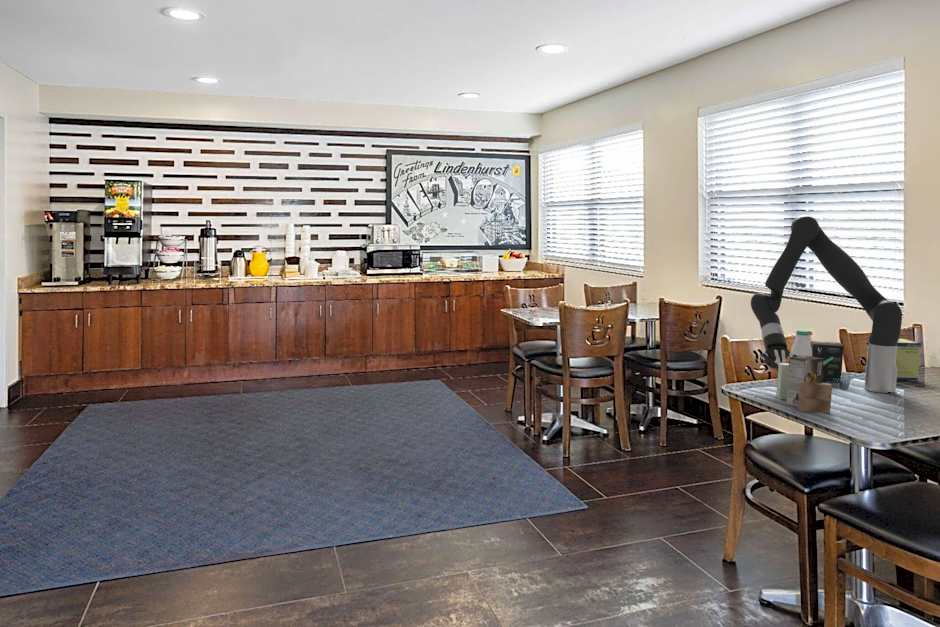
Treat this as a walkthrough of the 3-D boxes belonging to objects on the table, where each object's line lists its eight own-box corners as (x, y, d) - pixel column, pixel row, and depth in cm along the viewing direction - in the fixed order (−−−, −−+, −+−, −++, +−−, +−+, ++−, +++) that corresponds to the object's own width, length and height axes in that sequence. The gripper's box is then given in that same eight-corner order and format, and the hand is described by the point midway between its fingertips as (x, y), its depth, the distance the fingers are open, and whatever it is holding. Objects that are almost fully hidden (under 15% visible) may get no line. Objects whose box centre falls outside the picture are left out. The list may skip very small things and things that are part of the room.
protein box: (918, 381, 285) (922, 342, 283) (878, 380, 285) (882, 341, 283) (902, 376, 295) (906, 338, 293) (864, 375, 295) (867, 337, 293)
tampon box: (837, 378, 287) (840, 342, 286) (841, 383, 279) (844, 345, 277) (807, 376, 291) (810, 340, 289) (810, 380, 282) (813, 343, 280)
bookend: (799, 397, 252) (802, 363, 250) (803, 399, 249) (805, 365, 247) (776, 396, 252) (778, 363, 251) (779, 398, 249) (782, 364, 248)
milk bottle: (805, 380, 283) (809, 329, 280) (813, 384, 275) (817, 332, 273) (785, 379, 284) (789, 328, 281) (792, 383, 276) (796, 331, 274)
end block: (825, 410, 234) (828, 383, 233) (830, 412, 231) (832, 385, 230) (797, 409, 235) (799, 382, 234) (801, 411, 232) (803, 384, 231)
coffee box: (804, 401, 246) (807, 355, 244) (820, 405, 241) (824, 358, 239) (785, 403, 242) (789, 356, 240) (802, 408, 236) (805, 360, 235)
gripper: (758, 331, 264) (767, 370, 253) (795, 332, 263) (806, 372, 253) (752, 343, 270) (761, 382, 259) (788, 344, 269) (798, 383, 258)
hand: (783, 377), depth 256 cm, fingers closed
